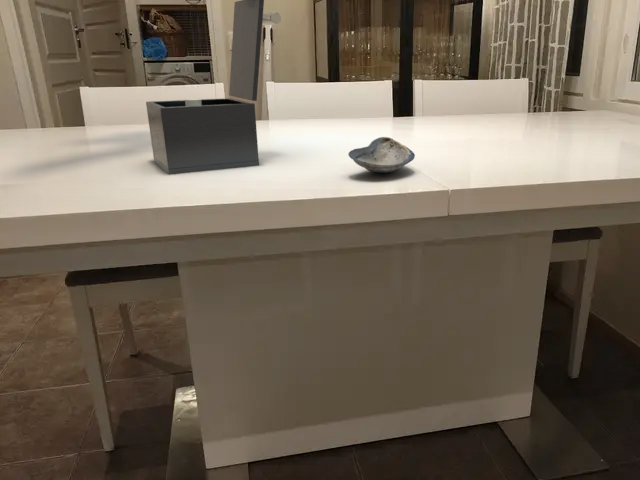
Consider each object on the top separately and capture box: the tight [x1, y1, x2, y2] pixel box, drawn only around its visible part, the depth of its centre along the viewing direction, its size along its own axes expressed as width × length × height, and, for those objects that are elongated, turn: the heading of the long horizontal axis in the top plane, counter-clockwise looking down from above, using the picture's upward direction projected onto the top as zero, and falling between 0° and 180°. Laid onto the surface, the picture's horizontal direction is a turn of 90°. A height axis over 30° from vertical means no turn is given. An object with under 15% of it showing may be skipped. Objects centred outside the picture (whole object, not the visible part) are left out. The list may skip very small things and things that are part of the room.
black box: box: [145, 97, 260, 176], centre depth 102 cm, size 16×14×11 cm
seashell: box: [347, 136, 416, 174], centre depth 95 cm, size 15×12×5 cm
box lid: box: [228, 0, 282, 102], centre depth 102 cm, size 17×14×6 cm
